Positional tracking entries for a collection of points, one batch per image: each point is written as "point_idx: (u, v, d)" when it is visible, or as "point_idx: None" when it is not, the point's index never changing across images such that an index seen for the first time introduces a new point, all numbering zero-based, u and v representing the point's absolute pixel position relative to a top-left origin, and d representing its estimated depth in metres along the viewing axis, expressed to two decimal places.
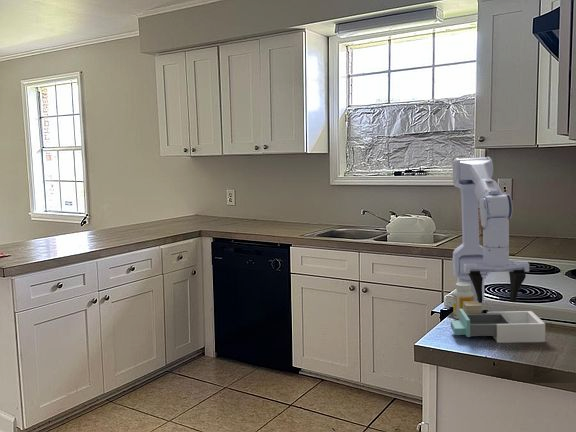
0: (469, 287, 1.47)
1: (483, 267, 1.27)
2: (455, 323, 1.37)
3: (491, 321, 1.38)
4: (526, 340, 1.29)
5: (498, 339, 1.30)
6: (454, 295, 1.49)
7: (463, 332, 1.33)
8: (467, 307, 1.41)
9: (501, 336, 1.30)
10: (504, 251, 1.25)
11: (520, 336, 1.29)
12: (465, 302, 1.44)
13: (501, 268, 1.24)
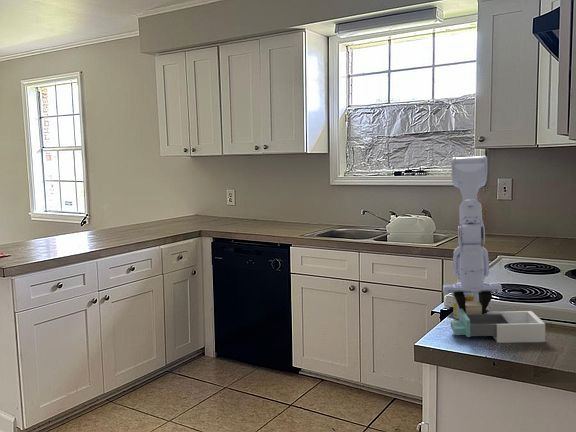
0: None
1: (460, 288, 1.41)
2: (455, 323, 1.37)
3: (491, 321, 1.38)
4: (526, 340, 1.29)
5: (498, 339, 1.30)
6: None
7: (463, 332, 1.33)
8: (467, 307, 1.41)
9: (501, 336, 1.30)
10: (479, 274, 1.39)
11: (520, 336, 1.29)
12: (465, 302, 1.44)
13: (476, 290, 1.38)
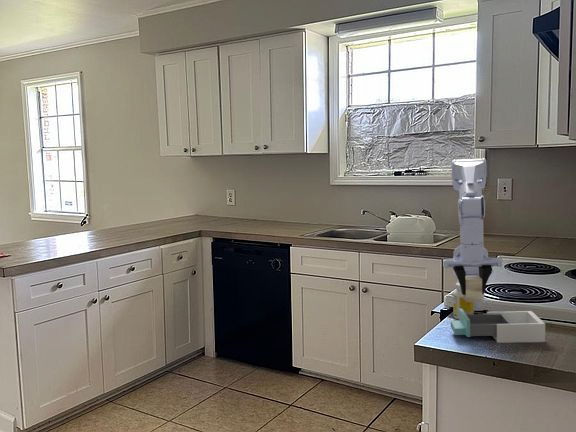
0: None
1: (460, 262, 1.39)
2: (455, 323, 1.37)
3: (491, 321, 1.38)
4: (526, 340, 1.29)
5: (498, 339, 1.30)
6: (454, 295, 1.49)
7: (463, 332, 1.33)
8: (467, 281, 1.40)
9: (501, 336, 1.30)
10: (479, 248, 1.38)
11: (520, 336, 1.29)
12: (465, 276, 1.43)
13: (476, 263, 1.37)
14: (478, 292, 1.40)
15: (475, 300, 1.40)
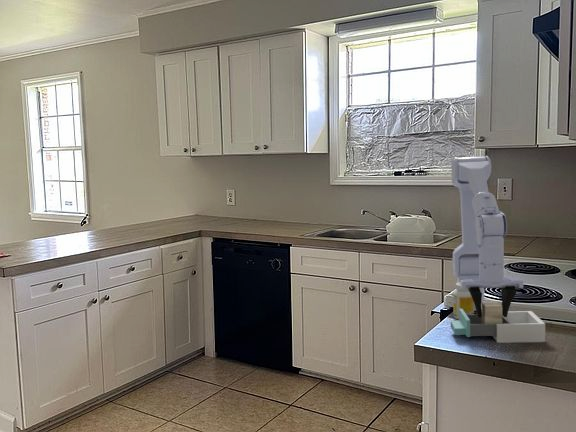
0: None
1: (479, 283, 1.32)
2: (455, 323, 1.37)
3: None
4: (526, 340, 1.29)
5: (498, 339, 1.30)
6: (454, 295, 1.49)
7: (463, 332, 1.33)
8: (486, 308, 1.32)
9: (501, 336, 1.30)
10: (499, 268, 1.30)
11: (520, 336, 1.29)
12: (484, 302, 1.35)
13: (496, 285, 1.29)
14: (498, 319, 1.32)
15: None
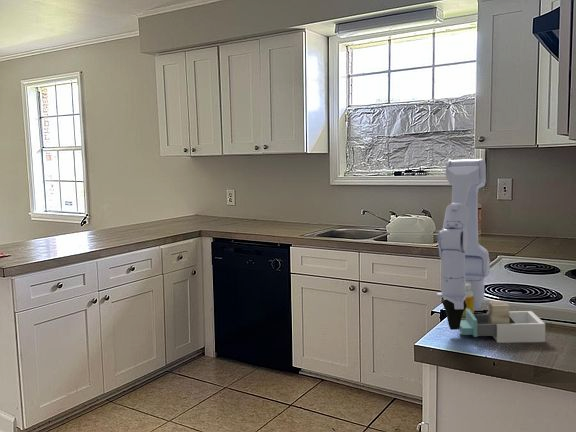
0: (469, 287, 1.47)
1: None
2: (462, 322, 1.37)
3: None
4: (526, 340, 1.29)
5: (498, 339, 1.30)
6: None
7: (470, 332, 1.33)
8: (493, 307, 1.32)
9: (501, 336, 1.30)
10: (443, 281, 1.34)
11: (520, 336, 1.29)
12: (491, 302, 1.35)
13: (437, 294, 1.35)
14: (505, 319, 1.32)
15: None
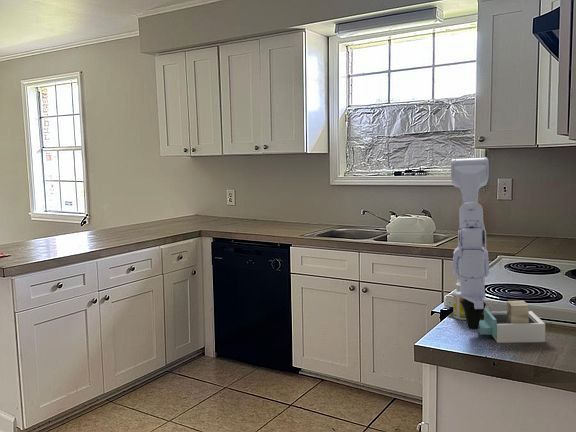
0: None
1: None
2: (481, 322, 1.36)
3: None
4: (526, 340, 1.29)
5: (498, 339, 1.30)
6: (454, 295, 1.49)
7: (489, 332, 1.32)
8: (513, 307, 1.32)
9: (501, 336, 1.30)
10: (462, 280, 1.33)
11: (520, 336, 1.29)
12: (510, 302, 1.34)
13: (456, 294, 1.35)
14: (524, 319, 1.32)
15: None
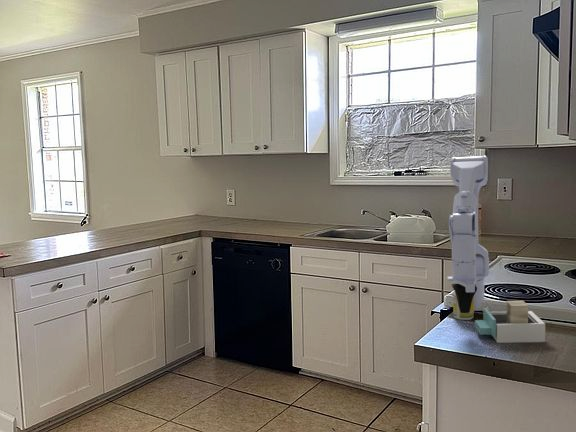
0: None
1: None
2: (480, 322, 1.36)
3: None
4: (526, 340, 1.29)
5: (498, 339, 1.30)
6: (454, 295, 1.49)
7: (488, 332, 1.32)
8: (512, 307, 1.32)
9: (501, 336, 1.30)
10: (454, 265, 1.35)
11: (520, 336, 1.29)
12: (509, 302, 1.34)
13: (448, 278, 1.37)
14: (523, 319, 1.32)
15: None
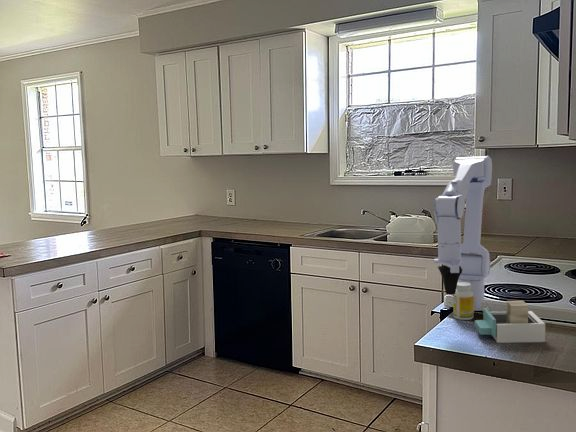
0: (469, 287, 1.47)
1: None
2: (480, 322, 1.36)
3: None
4: (526, 340, 1.29)
5: (498, 339, 1.30)
6: (454, 295, 1.49)
7: (488, 332, 1.32)
8: (512, 307, 1.32)
9: (501, 336, 1.30)
10: (440, 247, 1.38)
11: (520, 336, 1.29)
12: (509, 302, 1.34)
13: (434, 260, 1.40)
14: (523, 319, 1.32)
15: None
